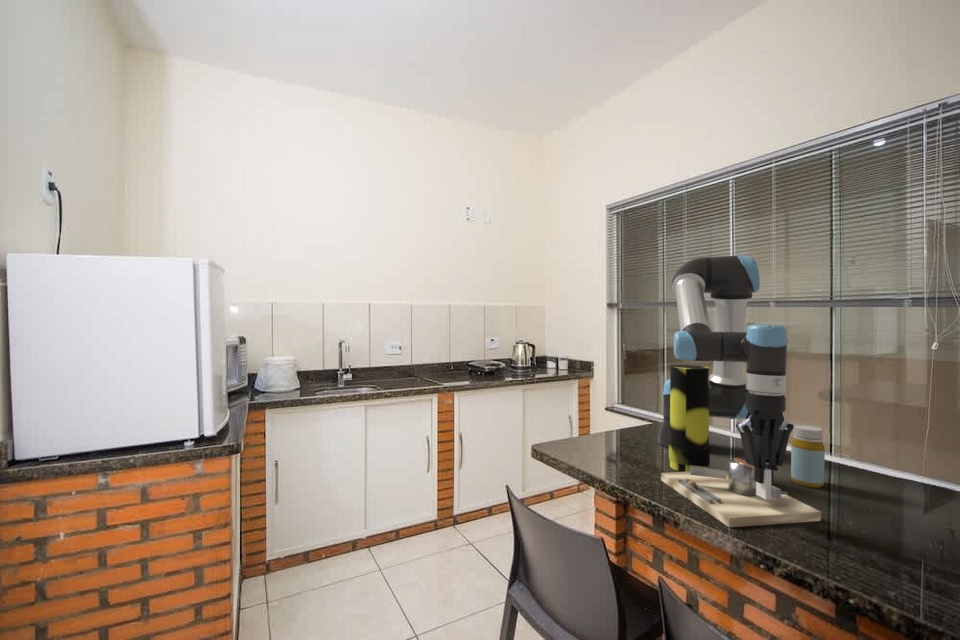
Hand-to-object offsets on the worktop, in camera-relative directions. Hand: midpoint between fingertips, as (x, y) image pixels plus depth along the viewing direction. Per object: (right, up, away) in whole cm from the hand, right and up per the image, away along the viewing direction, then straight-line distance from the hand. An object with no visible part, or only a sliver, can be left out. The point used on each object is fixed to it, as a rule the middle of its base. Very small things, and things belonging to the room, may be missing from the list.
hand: (763, 496), depth 96 cm
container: (-3, -4, +28) cm, 29 cm away
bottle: (+24, -4, +18) cm, 30 cm away
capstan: (0, -2, +6) cm, 6 cm away
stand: (-2, -4, +8) cm, 9 cm away
